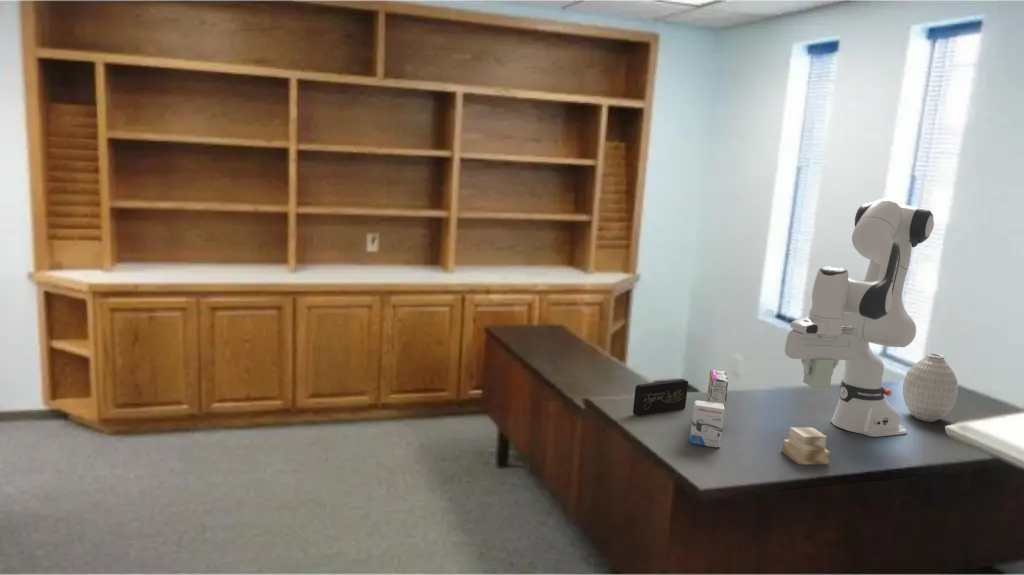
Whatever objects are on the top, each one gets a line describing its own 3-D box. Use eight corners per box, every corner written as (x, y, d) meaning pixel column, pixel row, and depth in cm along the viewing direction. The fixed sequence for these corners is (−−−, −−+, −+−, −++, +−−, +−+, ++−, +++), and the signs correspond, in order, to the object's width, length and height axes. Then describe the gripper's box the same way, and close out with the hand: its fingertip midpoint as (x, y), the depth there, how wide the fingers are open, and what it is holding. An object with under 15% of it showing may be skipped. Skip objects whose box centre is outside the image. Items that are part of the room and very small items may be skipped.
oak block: (810, 452, 214) (812, 439, 213) (828, 465, 205) (830, 452, 204) (781, 452, 212) (783, 439, 212) (798, 465, 204) (800, 451, 203)
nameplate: (636, 417, 232) (639, 386, 231) (632, 415, 234) (635, 385, 232) (685, 409, 243) (688, 380, 242) (681, 407, 245) (684, 378, 243)
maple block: (810, 440, 212) (812, 427, 211) (824, 450, 205) (826, 436, 205) (788, 440, 211) (790, 427, 210) (801, 450, 204) (803, 436, 203)
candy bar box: (703, 418, 235) (709, 369, 232) (720, 420, 234) (726, 371, 231) (705, 430, 224) (712, 378, 222) (722, 433, 224) (729, 381, 221)
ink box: (689, 444, 213) (694, 405, 211) (689, 437, 218) (694, 399, 215) (720, 448, 211) (725, 409, 209) (719, 442, 216) (724, 403, 214)
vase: (907, 407, 263) (917, 346, 259) (958, 420, 252) (969, 357, 248) (891, 415, 252) (901, 352, 248) (943, 430, 240) (955, 364, 237)
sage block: (819, 382, 208) (823, 355, 207) (829, 388, 204) (834, 360, 202) (803, 382, 207) (807, 354, 206) (813, 387, 203) (817, 359, 201)
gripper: (852, 324, 208) (844, 371, 210) (785, 321, 204) (778, 370, 206) (866, 329, 201) (858, 378, 204) (797, 327, 198) (790, 376, 200)
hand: (817, 374), depth 205 cm, fingers closed on sage block, 5 cm apart
